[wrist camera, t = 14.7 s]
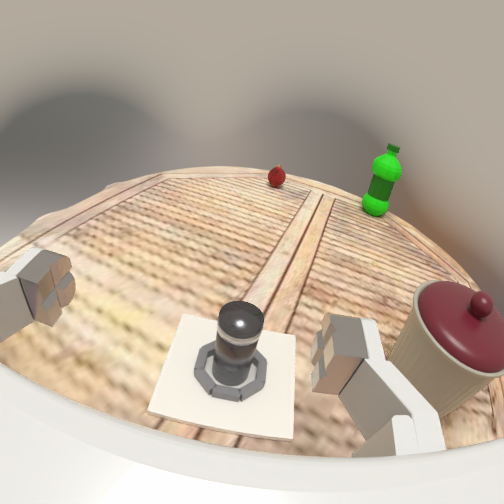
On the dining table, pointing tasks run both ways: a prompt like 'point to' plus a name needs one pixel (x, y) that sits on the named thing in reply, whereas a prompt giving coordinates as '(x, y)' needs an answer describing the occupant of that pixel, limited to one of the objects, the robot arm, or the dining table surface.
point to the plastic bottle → (382, 182)
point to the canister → (450, 344)
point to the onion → (276, 176)
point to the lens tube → (236, 342)
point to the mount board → (227, 397)
